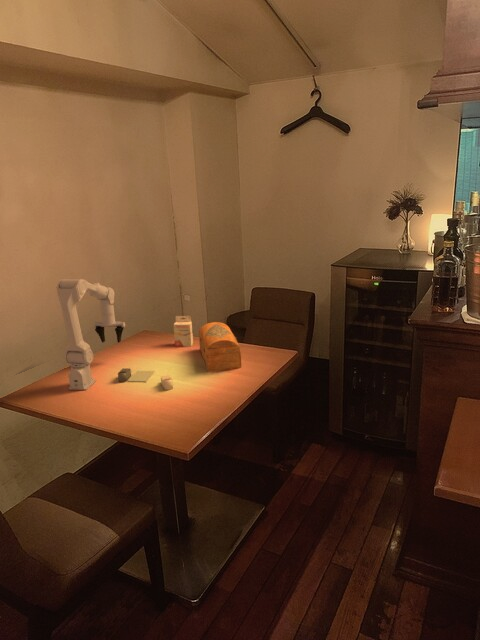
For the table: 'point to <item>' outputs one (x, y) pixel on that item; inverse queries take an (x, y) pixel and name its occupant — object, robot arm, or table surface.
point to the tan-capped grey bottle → (124, 374)
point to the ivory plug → (166, 382)
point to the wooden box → (219, 347)
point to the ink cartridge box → (183, 331)
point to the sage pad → (141, 376)
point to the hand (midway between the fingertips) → (111, 341)
